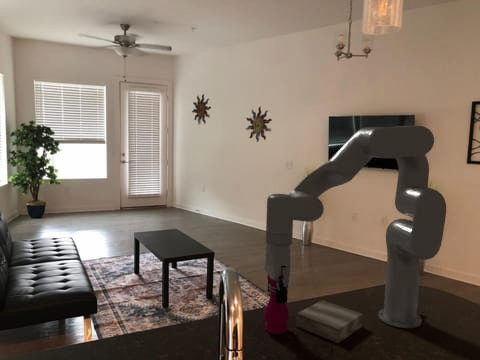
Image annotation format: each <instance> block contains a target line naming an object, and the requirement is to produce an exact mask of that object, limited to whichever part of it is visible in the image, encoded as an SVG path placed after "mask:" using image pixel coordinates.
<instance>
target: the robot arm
mask: <svg viewBox="0 0 480 360" xmlns="http://www.w3.org/2000/svg"><path fill="white" fill-rule="evenodd" d="M434 145H435V137H434V134H433V132H432V131H431V129H429V128H427V127H426V126H423V125H397V126H396V125H395V126H366V127H362V128H360V129H358V130H356V131H355V132H354V133H353V134H352V136H351V137H349V139H348V140H347V141H346V142H345V143H344V144H343V145H342V146H341V147H340V148H339V150H338V151H336V153H334V154H333V155H332V157H331V158H329V160H328V161H326V162H325V163H323V164H322V165H320V166H319V167H318V168H316V169H315V170H313V171H311V173H309V174H307V176H305V177H304V178H303V179H302V180H301V181H300V182H299V183H298V184H297V185H296V186H295V187H294V188H293V189H292V191H291V192H290V193H289V194H285V193H273V194H270V195H268V197H267V200H266V225H265V227H266V228H265V229H266V231H265V244H266V247H265V258H264V259H265V261H264V270H265V272H266V274H267V275H268V274H269V276H270V278H271V279H272V280H276V281H277V289H276V303H277V304H279V303H285V304H287V303H288V292H289V291H288V290H289V283H290V278H291V277H290V275H291V247H290V246H291V245H292V244H293V231H294V228H293V227H294V221H298V222H307V223H309V222H315V221H317V220H319V219H320V218H321V217H322V216H323V213H324V204H323V202H322V201H321V199H319V197H320V196H321V195H322V194H324V193H325V192H327V191H329V190H330V189H332V188H335V187H338V186H342V185H345V184H347V183H349V182H351V181H352V180H353V179H354V178H355V177H356V176H357V175H358V174H359V172H360V171H362V169H363V168H364V167H365V166H366V165H367V164H368V163H369V162H370V161H371V160H372V159H373V158H377V159H395V160H396V163H397V167H398V168H397V169H398V172H397V173H398V175H397V181H396V183H397V184H396V191H395V198H394V207H395V209H396V210H397V212H399V213H401V214H402V215H404V216H407V217H410V218H412V220H410V219H405V218H398V219H394V220H393V221H391V222H390V223H389V225H388V226H387V228H386V230H385V244H386V253H387V255H386V257H387V258H386V259H387V260H386V274H385V288H384V289H385V290H384V300H383V301H384V304H383V308H381V309H380V310H378V315H377V316H378V319H379V320H381V322H383V323H385V324H387V325H389V326H392V327H396V328H401V329H414V328H415V329H416V328H418V327H420V326H421V325H422V322H423V320H422V317H421V316H420V315H419V314H418V313H417V312H418V306H419V300H418V299H419V287H420V274H421V261H420V260H423V261H427V260H430V259H431V260H432V259H433V258H435V256H436V255H437V254H438V253H439V251H440V250H441V247H442V242H443V237H444V230H445V223H446V217H447V203H446V199H445V197H444V195H443V194H442V193H441V192H440V191H438V190H436V189H434V188H430V187H429V178H430V164H429V161H428V158H427V156H426V155H427V154H428V153H429V152H431V150H432V149H433V147H434ZM279 277H283V278H279ZM280 281H283V283H281V284H280ZM269 284H270V283H269V281H268V280H267V292H268V293H270V290H269Z"/></svg>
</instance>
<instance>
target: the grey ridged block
mask: <svg viewBox="0 0 480 360" xmlns="http://www.w3.org/2000/svg"><path fill="white" fill-rule="evenodd" d="M363 315H364V314H363V313H361V312H358V311H356V310H354V309H353V310H352V309H350V308H346V307H344V306H341V305H338V304H335V303H332V302H329V301H325V300H323V299H322V300H319V301H318V302H316V303H314V304H312V305H310V306H308V307H306V308H305V309H302V310H300V311H298V312H297V313H296V325H295V326H296V327H297V328H300V329H303V330H305V331H307V332H310V333H313V334H314V335H317V336H320V337H322V338H324V339H327V340H329V341H332V342H334V343H337V344H339V343H341V342H342V341H344V340H345V339H346V338H348V337H349V336H352V334H354V333H355V332H357V331H358V330H359V329H361V328H363V320H364V319H363V318H364V317H363Z"/></svg>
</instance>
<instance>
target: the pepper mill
mask: <svg viewBox="0 0 480 360" xmlns="http://www.w3.org/2000/svg"><path fill="white" fill-rule="evenodd" d="M266 277H267V282H268V281H269V283H270V284H269V290H270V292H269V300H268V301H267V304H266V306H265V308H264V313H263V317H264V320H265V323H264V328H265V331H267V333H269V334H272V335H283V334H285V333H286V332H287V328H288V323H287V321H289V318H290V313H289V309H288V306H287V303H279V304H277V303H276V289H277V281H276V280H272V279H271V278H270V276H269V274H267V276H266ZM279 278H283V277H279ZM281 283H283V281H280V284H281Z"/></svg>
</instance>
